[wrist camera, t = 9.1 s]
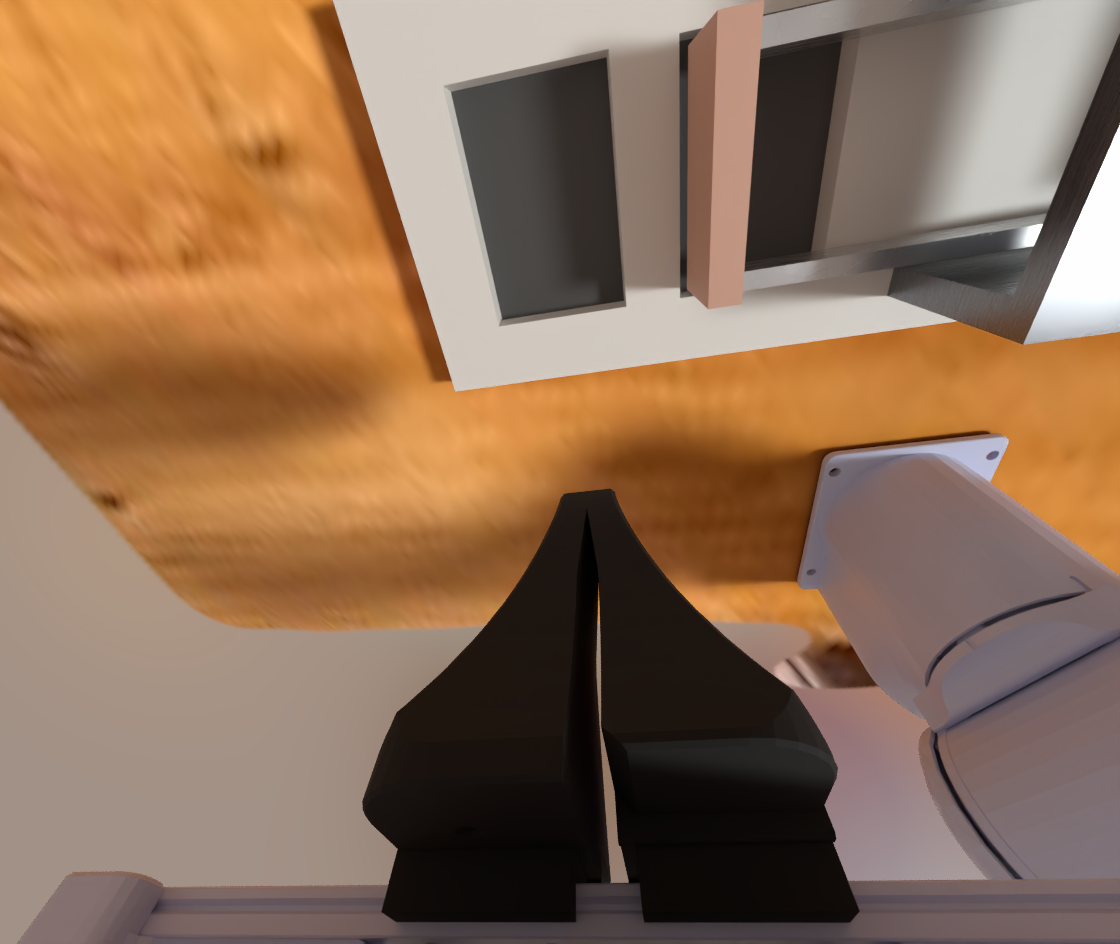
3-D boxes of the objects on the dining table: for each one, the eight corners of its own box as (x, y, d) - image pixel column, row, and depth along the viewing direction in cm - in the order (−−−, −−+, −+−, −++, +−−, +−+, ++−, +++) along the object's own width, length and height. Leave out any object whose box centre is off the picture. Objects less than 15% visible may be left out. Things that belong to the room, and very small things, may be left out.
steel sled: (687, 289, 16) (708, 309, 13) (688, 45, 12) (717, 10, 10) (1386, 178, 13) (1573, 177, 11) (1642, -164, 10) (2009, -283, 7)
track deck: (461, 380, 19) (455, 391, 18) (349, 6, 13) (330, -9, 12) (1244, 268, 16) (1288, 274, 15) (1629, -315, 10) (1753, -373, 9)
